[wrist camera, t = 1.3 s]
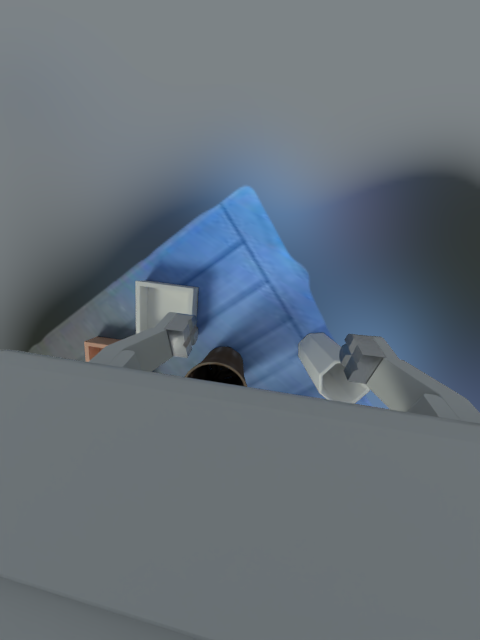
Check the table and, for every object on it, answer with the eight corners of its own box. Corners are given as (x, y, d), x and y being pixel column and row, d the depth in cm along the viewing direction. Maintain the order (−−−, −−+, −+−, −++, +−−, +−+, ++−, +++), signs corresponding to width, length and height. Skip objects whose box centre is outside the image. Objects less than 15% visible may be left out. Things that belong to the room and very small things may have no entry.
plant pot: (191, 348, 59) (169, 374, 44) (238, 332, 57) (233, 353, 41) (211, 391, 62) (197, 430, 47) (256, 377, 60) (257, 413, 44)
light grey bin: (195, 338, 58) (189, 344, 53) (145, 331, 59) (136, 336, 54) (198, 287, 55) (193, 288, 50) (145, 280, 55) (135, 280, 50)
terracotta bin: (145, 386, 64) (136, 395, 59) (100, 380, 64) (88, 388, 59) (145, 343, 60) (136, 349, 55) (97, 336, 60) (84, 341, 55)
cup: (305, 371, 59) (329, 413, 41) (291, 341, 57) (309, 371, 39) (339, 357, 57) (380, 395, 39) (326, 325, 55) (362, 350, 37)
